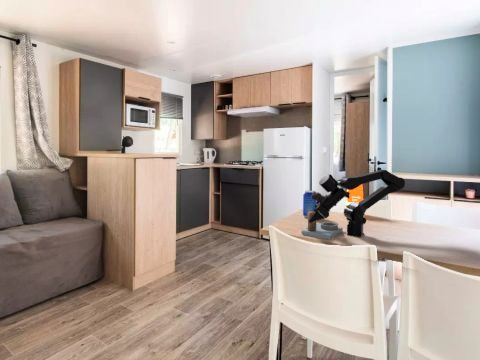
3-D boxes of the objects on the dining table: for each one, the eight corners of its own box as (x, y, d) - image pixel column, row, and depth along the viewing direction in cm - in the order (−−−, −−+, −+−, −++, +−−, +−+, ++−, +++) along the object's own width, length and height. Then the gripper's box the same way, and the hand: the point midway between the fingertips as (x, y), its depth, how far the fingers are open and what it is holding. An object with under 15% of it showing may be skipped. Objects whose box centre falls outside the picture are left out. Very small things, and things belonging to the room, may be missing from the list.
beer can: (301, 218, 182) (301, 191, 181) (305, 215, 190) (305, 190, 188) (315, 219, 179) (315, 192, 177) (318, 216, 186) (319, 190, 184)
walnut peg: (317, 230, 147) (317, 212, 146) (314, 232, 144) (314, 213, 143) (310, 228, 150) (310, 211, 149) (306, 230, 147) (306, 212, 146)
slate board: (342, 231, 152) (342, 223, 152) (329, 239, 139) (329, 231, 138) (316, 227, 161) (316, 219, 160) (301, 234, 147) (301, 226, 147)
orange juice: (362, 216, 186) (363, 183, 184) (347, 215, 188) (348, 183, 186) (360, 213, 193) (361, 182, 191) (345, 213, 195) (346, 182, 193)
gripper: (320, 183, 153) (298, 204, 157) (322, 188, 135) (296, 211, 138) (336, 199, 152) (313, 220, 156) (340, 206, 134) (314, 229, 137)
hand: (309, 219), depth 147 cm, fingers open, 8 cm apart
